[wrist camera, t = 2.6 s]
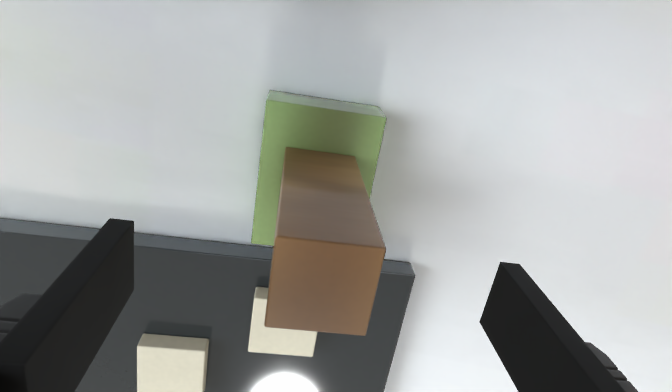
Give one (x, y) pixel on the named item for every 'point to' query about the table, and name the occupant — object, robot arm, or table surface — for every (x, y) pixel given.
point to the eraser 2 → (276, 333)
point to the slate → (207, 311)
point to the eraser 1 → (171, 363)
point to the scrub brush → (319, 212)
